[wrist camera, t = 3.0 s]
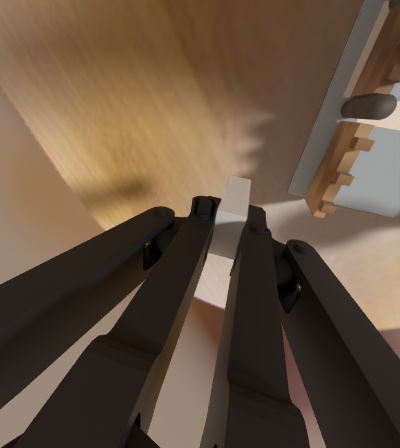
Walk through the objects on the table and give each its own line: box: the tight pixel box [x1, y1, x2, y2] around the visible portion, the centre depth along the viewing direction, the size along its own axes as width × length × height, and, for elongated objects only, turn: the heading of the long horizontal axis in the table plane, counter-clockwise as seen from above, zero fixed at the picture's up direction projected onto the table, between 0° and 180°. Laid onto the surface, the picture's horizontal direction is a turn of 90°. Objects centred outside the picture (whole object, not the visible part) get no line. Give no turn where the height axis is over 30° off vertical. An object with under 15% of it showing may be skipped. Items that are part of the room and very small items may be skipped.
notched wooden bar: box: [304, 121, 375, 219], centre depth 19 cm, size 8×1×6 cm, turn 171°
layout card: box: [287, 0, 400, 218], centre depth 19 cm, size 17×12×1 cm
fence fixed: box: [341, 0, 400, 120], centre depth 15 cm, size 9×2×6 cm, turn 171°
